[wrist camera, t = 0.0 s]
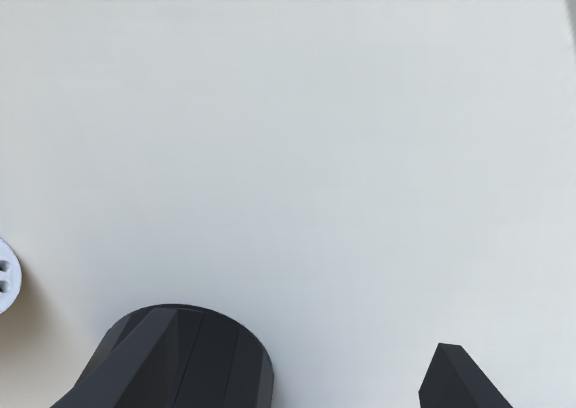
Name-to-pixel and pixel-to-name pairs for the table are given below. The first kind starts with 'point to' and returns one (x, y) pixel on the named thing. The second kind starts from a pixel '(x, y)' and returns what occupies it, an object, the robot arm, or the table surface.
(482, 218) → the table surface
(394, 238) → the table surface
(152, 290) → the table surface
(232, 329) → the pot
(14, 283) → the flashlight
